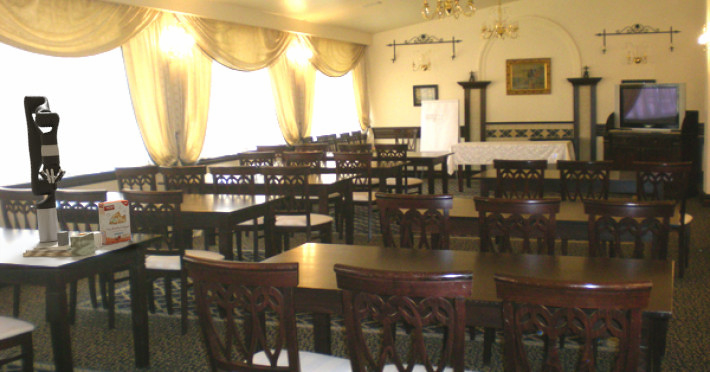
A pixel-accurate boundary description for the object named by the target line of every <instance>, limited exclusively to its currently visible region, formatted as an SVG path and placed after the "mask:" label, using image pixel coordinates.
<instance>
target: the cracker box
mask: <svg viewBox="0 0 710 372" xmlns="http://www.w3.org/2000/svg"><path fill="white" fill-rule="evenodd" d="M97 206H98V208H97V209H98V210H97V211H98V223H99V232H101V245H106V246H107V245H112V244H117V243H123V242H128V240H129V241H131V240H132V237H131V236H132V235H131V234H132V233H131V220H130V207H129V206H130V203H129V200H127V199H118V200H112V201H111V200H110V201H104V202H98V203H97Z"/></svg>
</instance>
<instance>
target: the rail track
mask: <svg viewBox="0 0 710 372" xmlns="http://www.w3.org/2000/svg"><path fill="white" fill-rule="evenodd" d="M81 233H82V232H79V233H78V234H74V235H71V236H69V243H71V248H70V249H68V250H50V247H51V246H42V247H41V246H40V247H39V246H37V247H36V246H35V247H33V249H25V252H22V257H85V256H87V255H90V254H92V253H94V252H95V251H96V247H95V244H94V233H89V232H84V233H85V235H79V234H81Z"/></svg>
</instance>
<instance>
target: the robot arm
mask: <svg viewBox="0 0 710 372" xmlns="http://www.w3.org/2000/svg"><path fill="white" fill-rule="evenodd" d="M23 108H24V109H23V110H24V114H25V121H26V128H27V130H26V131H27V144H28V145H27V146H28V154H29V155H28V156H29V161H30V188H31V193H32V195H33V196H35V197H38V196H47V197H46V198H44V199H43V200H40V201H39V202H37V203H36V215H37V216H36V217H37V224H38V225H37V226H38V227H37V228H38V236H39V237H38V238H39V242H40V243H51V242H56V241H58V240H57V233H59V232H60V224H59V221H58V213H57V198H56V197H57V196H56V191H57V190H58V182H60V181H62V179H63V177H64V176H65V174H66V173H67V172H66V170H64V169H62V168H61V160H60V149H59V143H58V130H59V126H60V120H61V119H60V115H59V114H58V113H57V112H56V111H55V112H54V111H52V110H51V108H50V103H49V100H48V98H47V96H46V95H25V96H24V97H23ZM33 114H34V116H35V117H33ZM41 128H51V129H50V130H49V131H47V132H43V130H42V129H41ZM41 168H42V170H41Z"/></svg>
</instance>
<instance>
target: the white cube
mask: <svg viewBox="0 0 710 372" xmlns="http://www.w3.org/2000/svg"><path fill="white" fill-rule="evenodd" d="M88 233H94V244H95V248H100V247H102V244H101V232H100V230H99V231H89V232H88Z"/></svg>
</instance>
